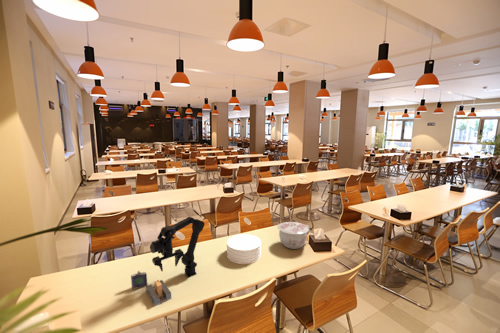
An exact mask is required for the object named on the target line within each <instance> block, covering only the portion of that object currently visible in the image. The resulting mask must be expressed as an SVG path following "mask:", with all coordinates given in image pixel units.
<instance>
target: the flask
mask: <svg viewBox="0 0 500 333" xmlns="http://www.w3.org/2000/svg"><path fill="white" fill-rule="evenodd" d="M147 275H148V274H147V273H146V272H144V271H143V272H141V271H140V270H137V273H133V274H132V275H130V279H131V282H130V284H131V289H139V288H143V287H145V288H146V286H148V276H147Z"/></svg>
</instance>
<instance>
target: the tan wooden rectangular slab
mask: <svg viewBox="0 0 500 333" xmlns="http://www.w3.org/2000/svg"><path fill="white" fill-rule="evenodd" d="M154 287H155V291H156V293H157V294H158V296H159V297H161V296H162V284H161V283H160V279H157V280H154Z"/></svg>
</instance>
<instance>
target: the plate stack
mask: <svg viewBox="0 0 500 333" xmlns="http://www.w3.org/2000/svg"><path fill="white" fill-rule="evenodd" d="M261 256H262V240H261V239H260V238H259V237H258V236H255V235H252V234H243V233H241V234H236V235H235V234H234V235H233V236H231V237H229V238H228V239H227V241H226V257H227V259H228V260H229V261H230V262H232V263H235V264H240V265H249V264H252V263H255V262H257V261H258V260H260V259H261Z"/></svg>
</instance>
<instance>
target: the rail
mask: <svg viewBox="0 0 500 333" xmlns="http://www.w3.org/2000/svg"><path fill="white" fill-rule="evenodd" d="M159 281H160V283H161V284H162V296H161V297H159V296H158V294H157V293H156V291H155V286H154V287H153V285H152V284H151V283H150V284H147V286H145V290H146V294H147V295H148V297H149V299H150V300H151V302H152V304H153V306H154V307H156V306H158V305H161V304H163V303H164V302H166V301H169V300H171V299H172V292H171V290H170V289H169V287H168V286H167V284H166V283H165V282H164V280H163V279H161V280H160V279H159Z"/></svg>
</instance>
